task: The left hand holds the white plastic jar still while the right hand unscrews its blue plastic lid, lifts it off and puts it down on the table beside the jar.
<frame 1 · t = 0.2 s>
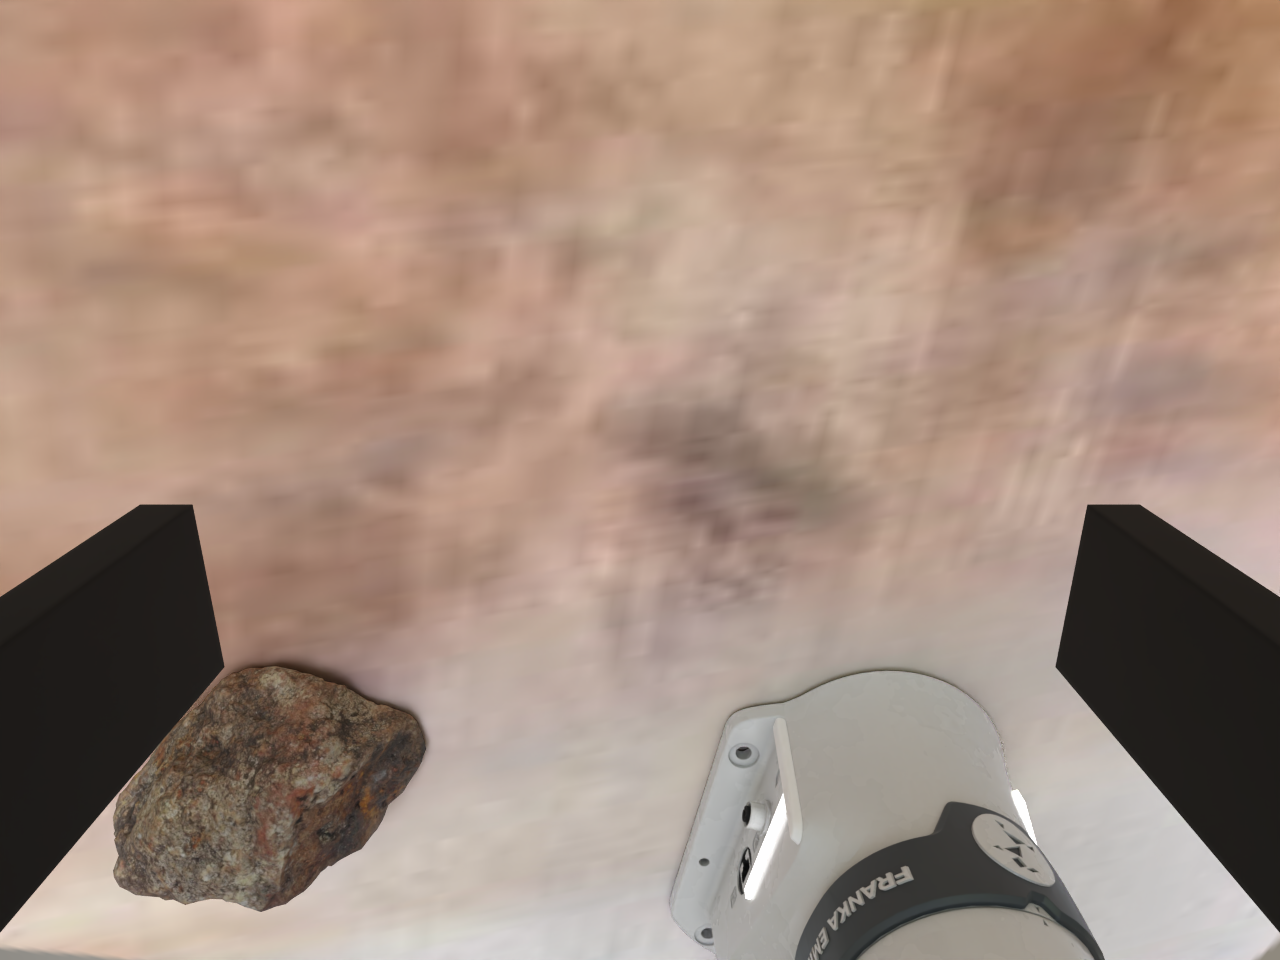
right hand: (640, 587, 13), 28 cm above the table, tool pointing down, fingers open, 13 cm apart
rock: (295, 736, 47), on the table
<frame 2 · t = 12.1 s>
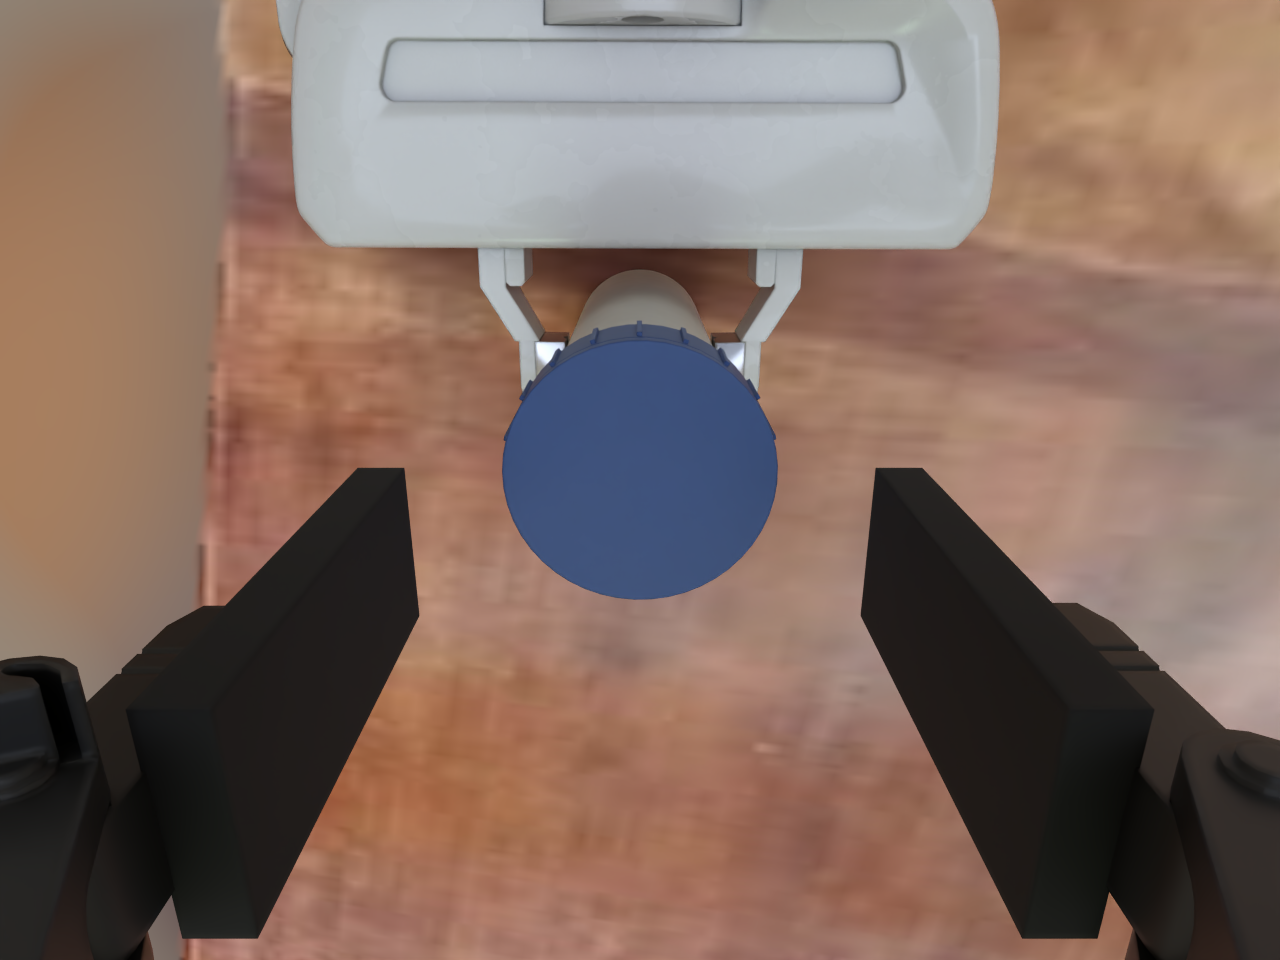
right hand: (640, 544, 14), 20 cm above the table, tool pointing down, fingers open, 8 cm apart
lid: (639, 471, 17), point 17 cm above the table, screwed on, not yet turned
jar: (639, 331, 33), on the table, touching left hand
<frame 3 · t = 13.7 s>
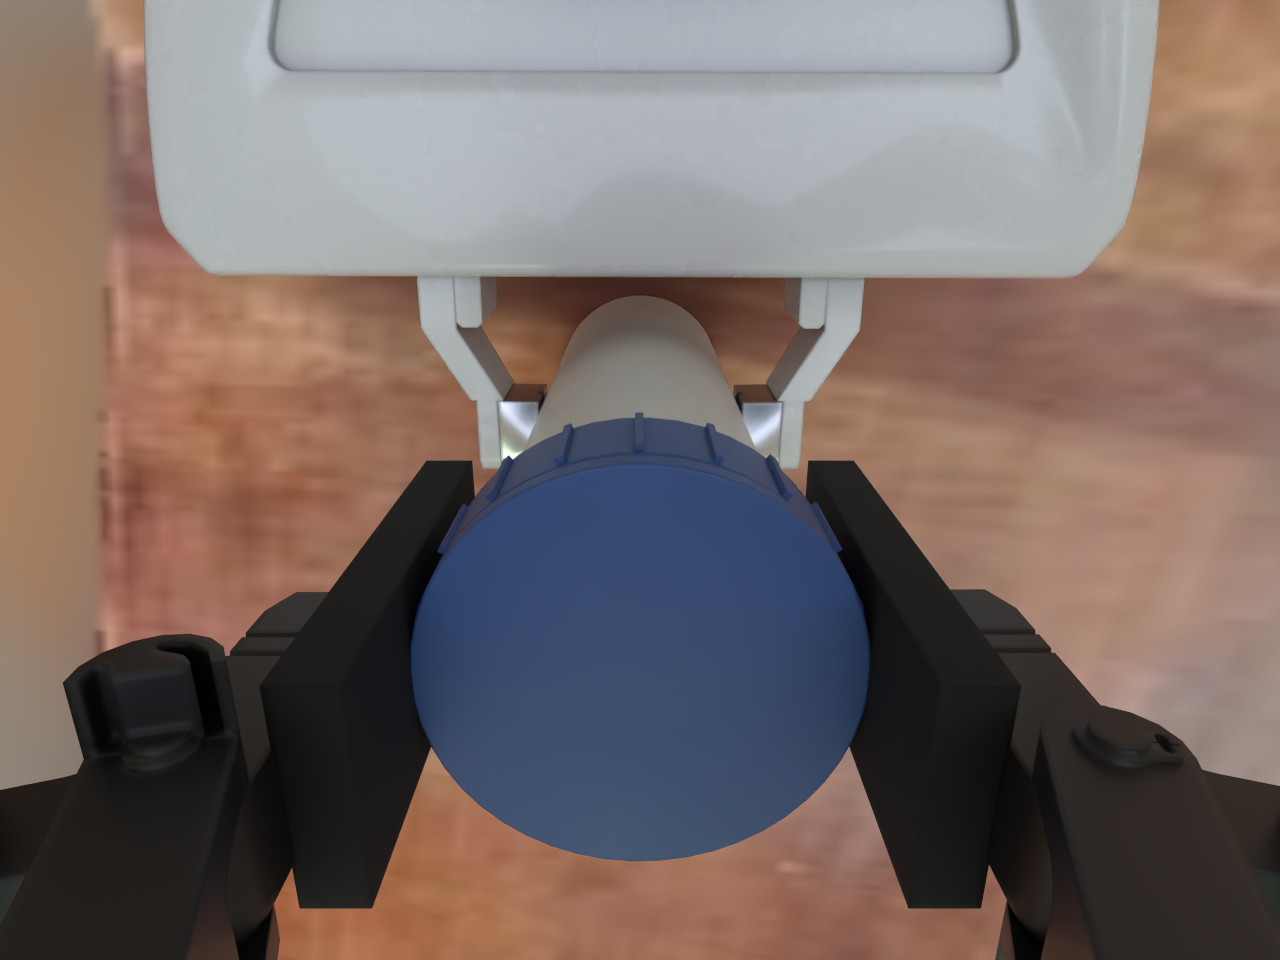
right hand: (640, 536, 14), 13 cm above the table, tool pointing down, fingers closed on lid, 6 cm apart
lid: (640, 666, 11), point 17 cm above the table, screwed on, not yet turned, touching right hand
jar: (639, 372, 26), on the table, touching left hand
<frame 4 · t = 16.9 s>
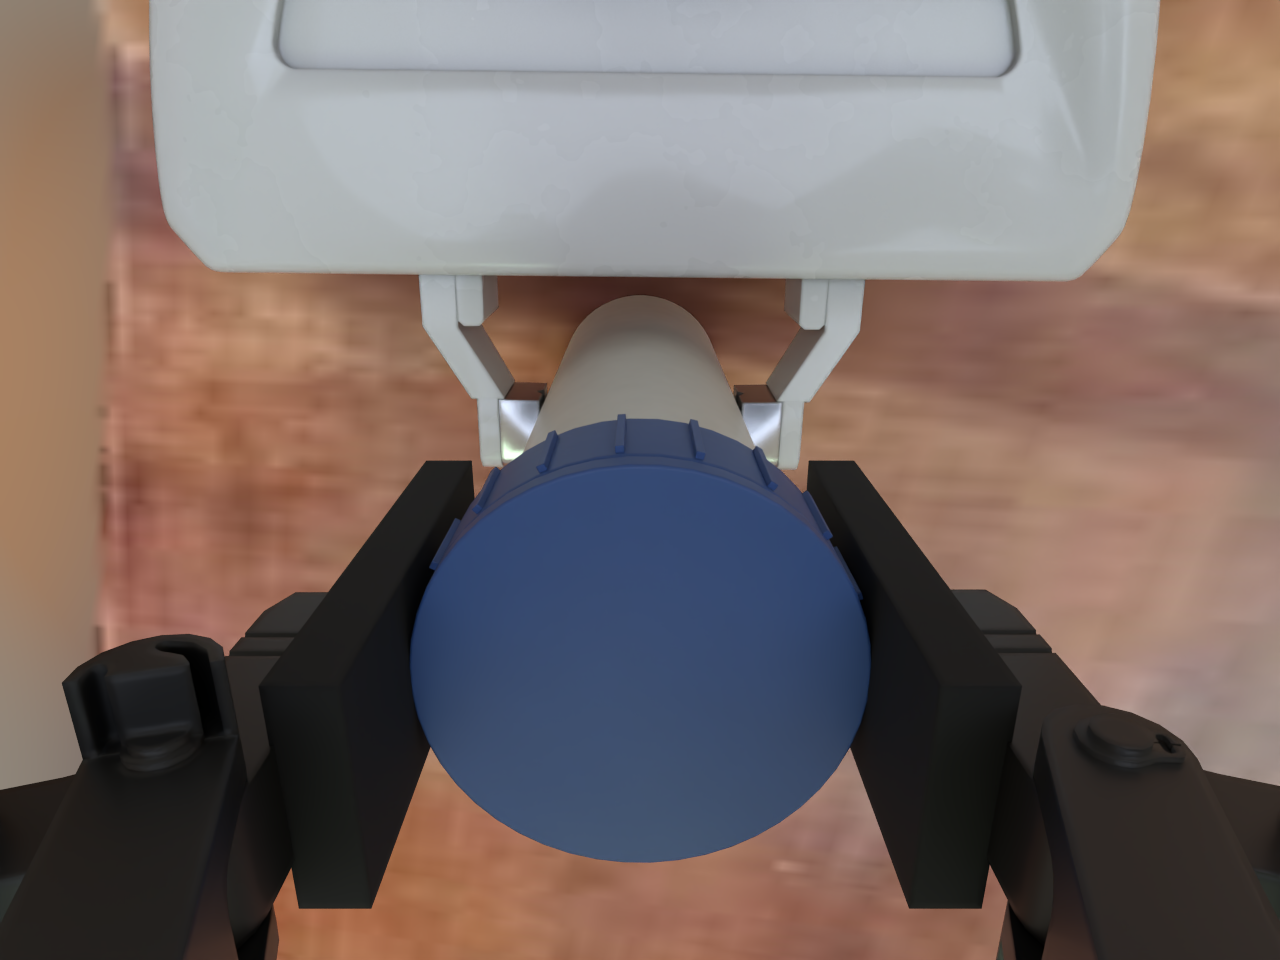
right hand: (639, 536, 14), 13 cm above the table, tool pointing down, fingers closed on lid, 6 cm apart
lid: (640, 667, 11), point 17 cm above the table, turned 81° so far, risen 0.1 cm, still on its thread, touching right hand
jar: (640, 371, 26), on the table, touching left hand
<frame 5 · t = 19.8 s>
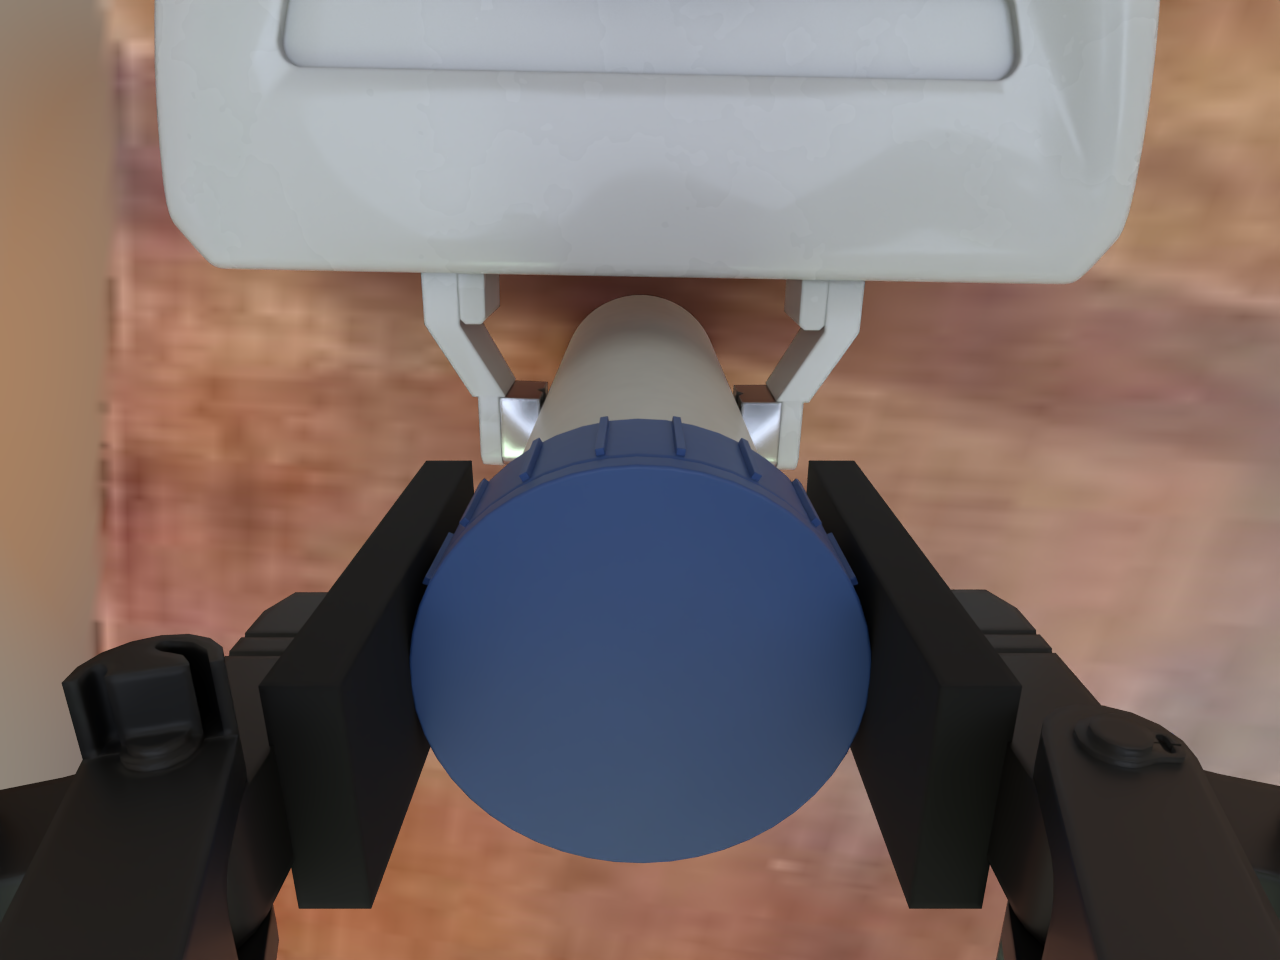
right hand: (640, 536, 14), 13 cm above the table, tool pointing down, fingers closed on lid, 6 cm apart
lid: (640, 667, 11), point 17 cm above the table, turned 162° so far, risen 0.2 cm, still on its thread, touching right hand
jar: (640, 371, 26), on the table, touching left hand
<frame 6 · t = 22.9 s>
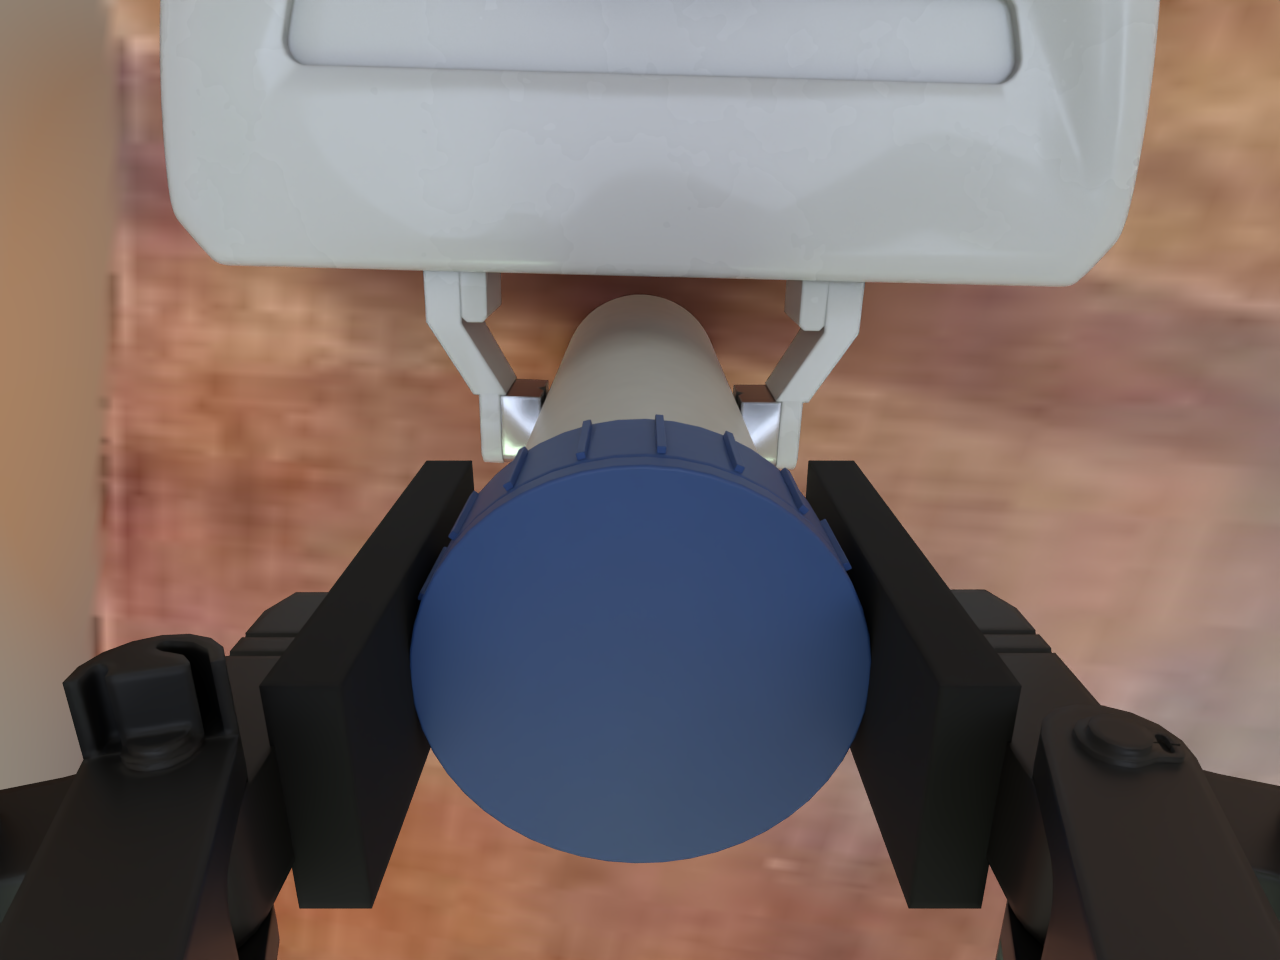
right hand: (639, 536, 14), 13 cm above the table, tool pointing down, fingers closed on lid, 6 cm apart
lid: (640, 667, 11), point 17 cm above the table, turned 242° so far, risen 0.3 cm, still on its thread, touching right hand
jar: (640, 370, 27), on the table, touching left hand
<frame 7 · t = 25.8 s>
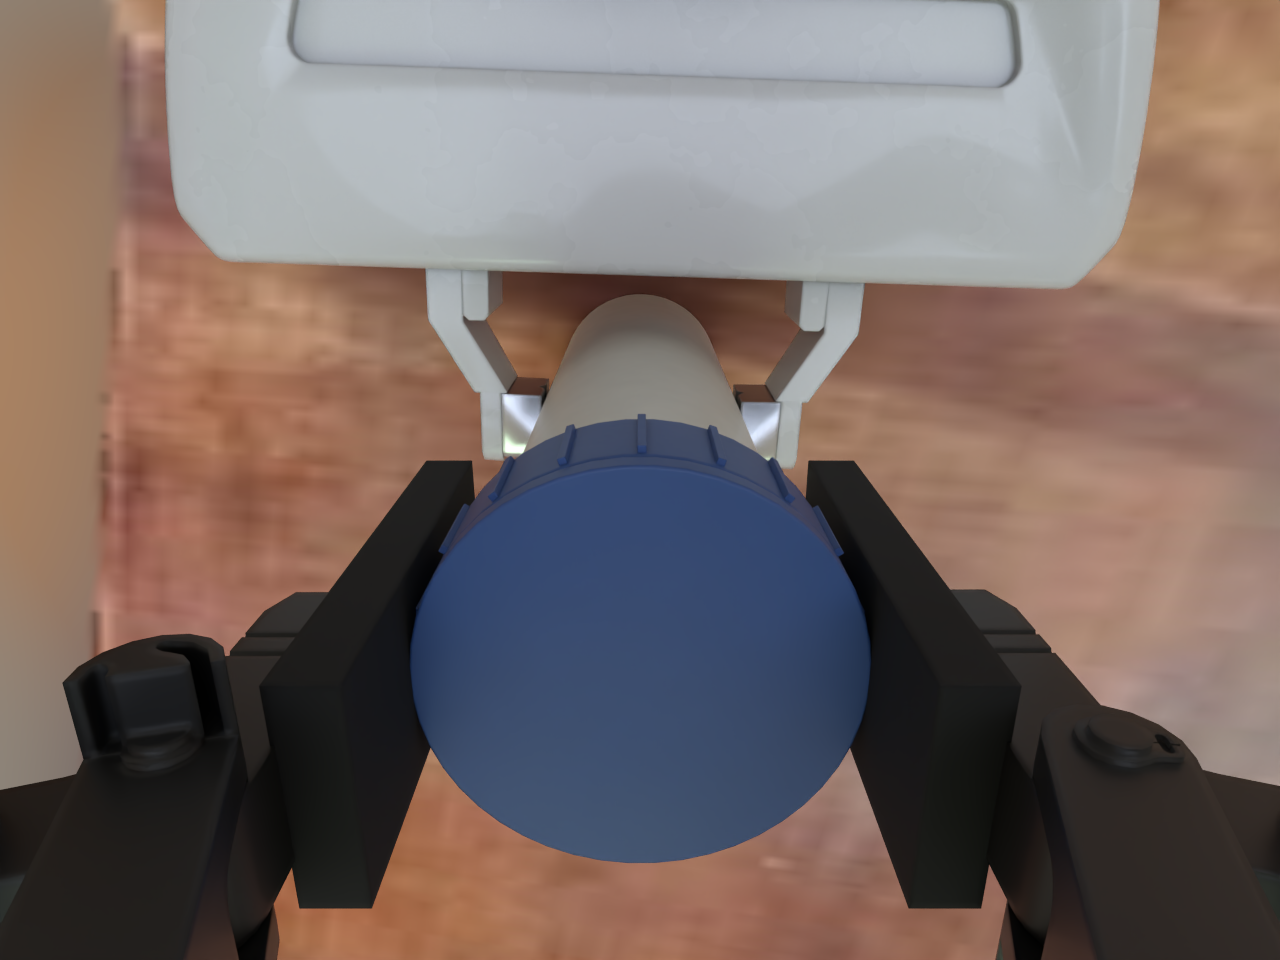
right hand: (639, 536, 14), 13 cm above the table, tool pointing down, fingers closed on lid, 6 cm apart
lid: (640, 668, 11), point 17 cm above the table, turned 323° so far, risen 0.4 cm, still on its thread, touching right hand
jar: (640, 370, 27), on the table, touching left hand
when the right hand's fingers open (0 cm above the table, at t = 36.7 s): lid drops 3 cm, point 2 cm above the table.
when the left hand's fingers open (6 cm above the table, at t = 37.4 s): jar stays where it is, on the table.
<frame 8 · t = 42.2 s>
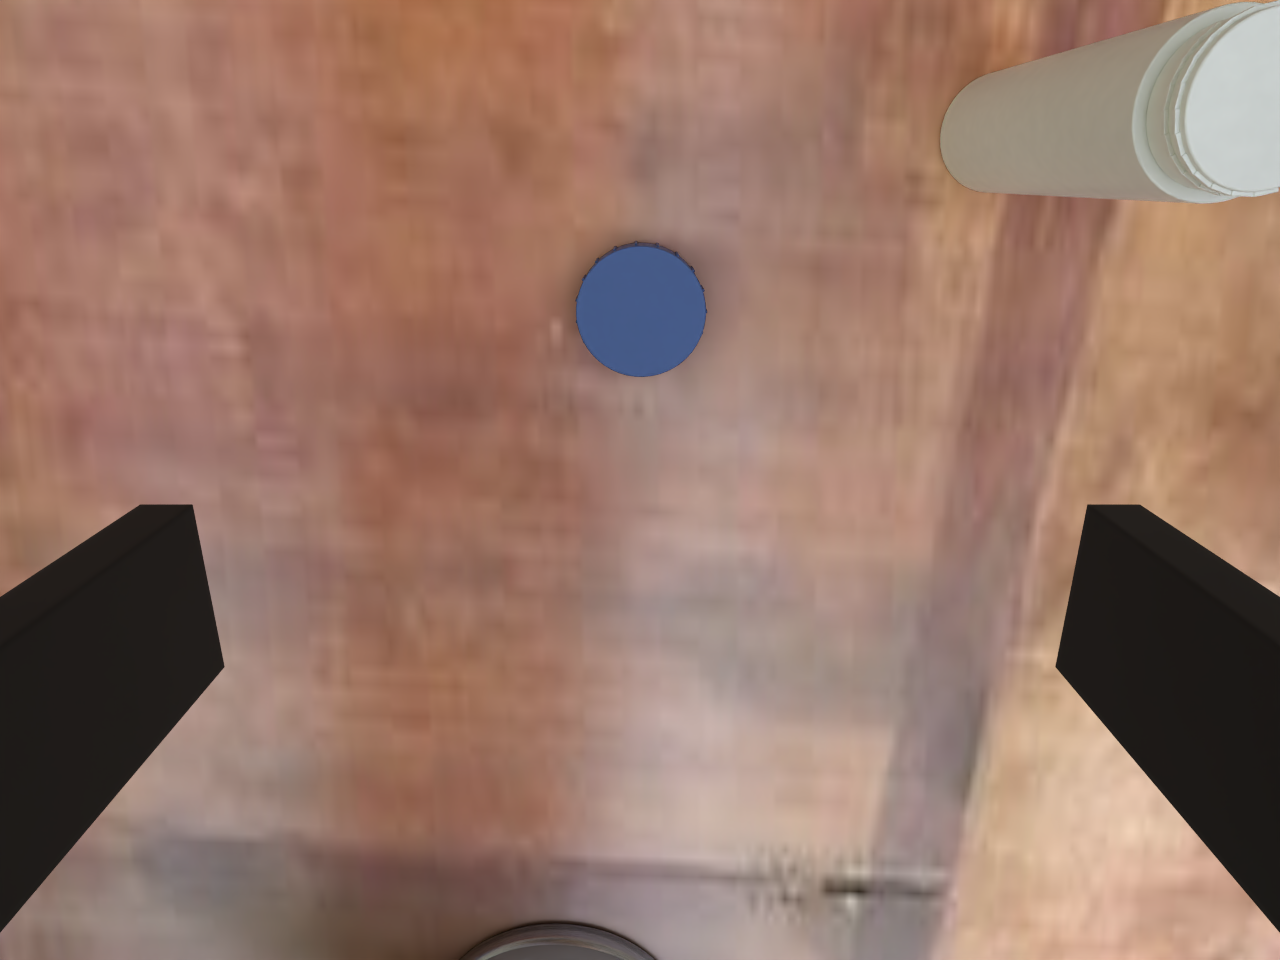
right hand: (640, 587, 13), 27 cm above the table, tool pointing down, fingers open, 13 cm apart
lid: (641, 312, 37), point 2 cm above the table, off its thread
jar: (996, 133, 36), on the table
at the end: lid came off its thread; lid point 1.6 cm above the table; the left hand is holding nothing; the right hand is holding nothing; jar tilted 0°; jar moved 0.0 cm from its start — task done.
